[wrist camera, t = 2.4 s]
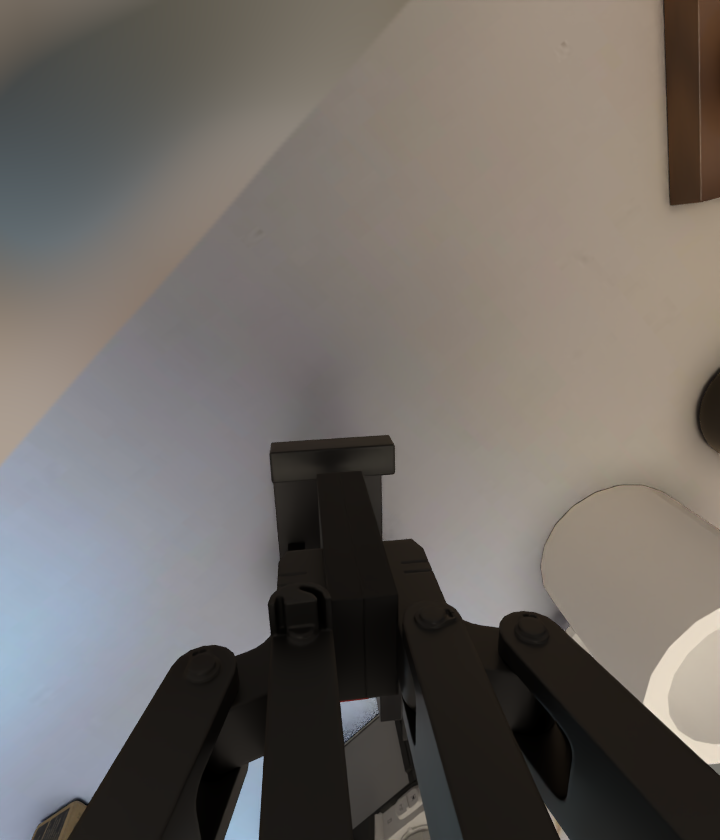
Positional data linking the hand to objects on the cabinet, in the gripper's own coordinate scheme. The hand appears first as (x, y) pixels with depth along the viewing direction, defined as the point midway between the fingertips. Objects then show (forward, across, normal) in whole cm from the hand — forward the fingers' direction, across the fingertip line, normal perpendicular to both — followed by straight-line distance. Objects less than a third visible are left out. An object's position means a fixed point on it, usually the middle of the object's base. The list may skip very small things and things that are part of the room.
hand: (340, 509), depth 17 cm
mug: (+12, +18, -12) cm, 25 cm away
